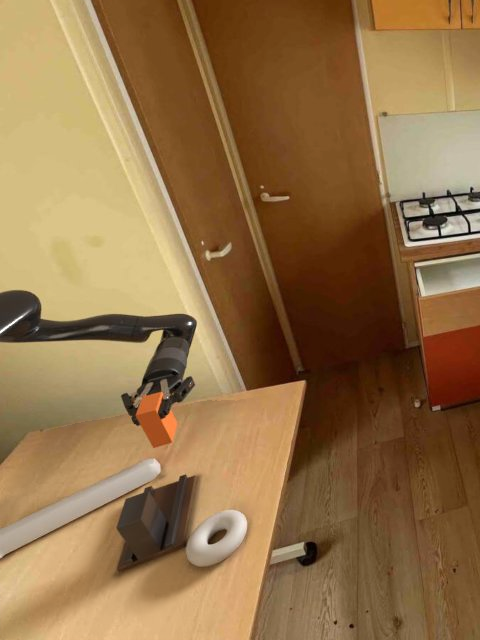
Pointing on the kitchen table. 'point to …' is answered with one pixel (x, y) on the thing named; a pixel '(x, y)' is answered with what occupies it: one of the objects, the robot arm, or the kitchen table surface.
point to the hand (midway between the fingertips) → (149, 418)
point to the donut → (212, 554)
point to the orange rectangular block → (156, 421)
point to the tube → (76, 505)
